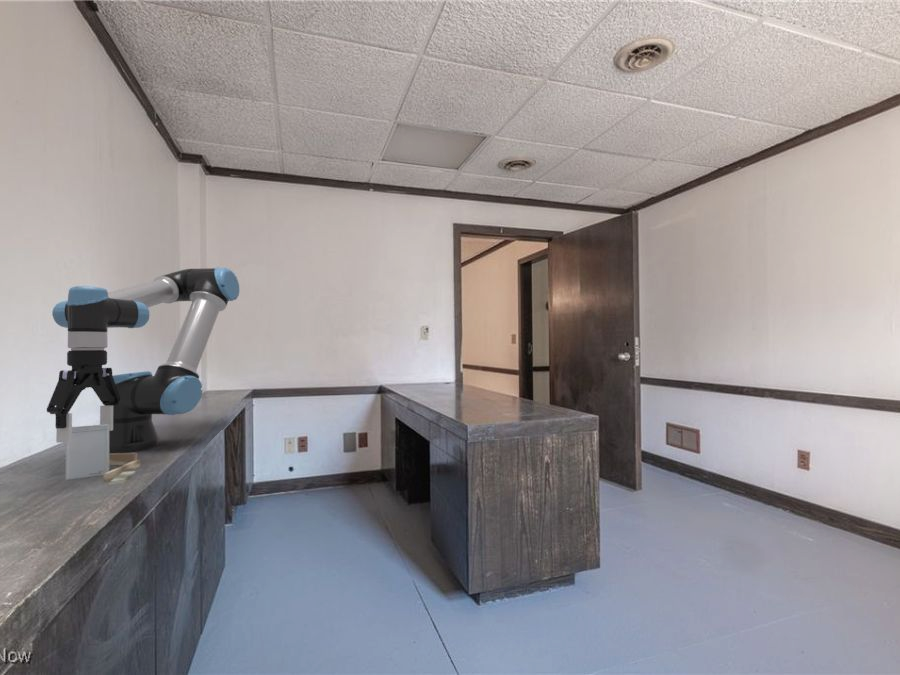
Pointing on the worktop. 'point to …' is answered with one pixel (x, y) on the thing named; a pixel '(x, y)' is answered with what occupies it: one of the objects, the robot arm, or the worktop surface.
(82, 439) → the hard drive
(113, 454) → the birch rack
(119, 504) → the worktop surface
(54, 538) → the worktop surface
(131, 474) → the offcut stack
